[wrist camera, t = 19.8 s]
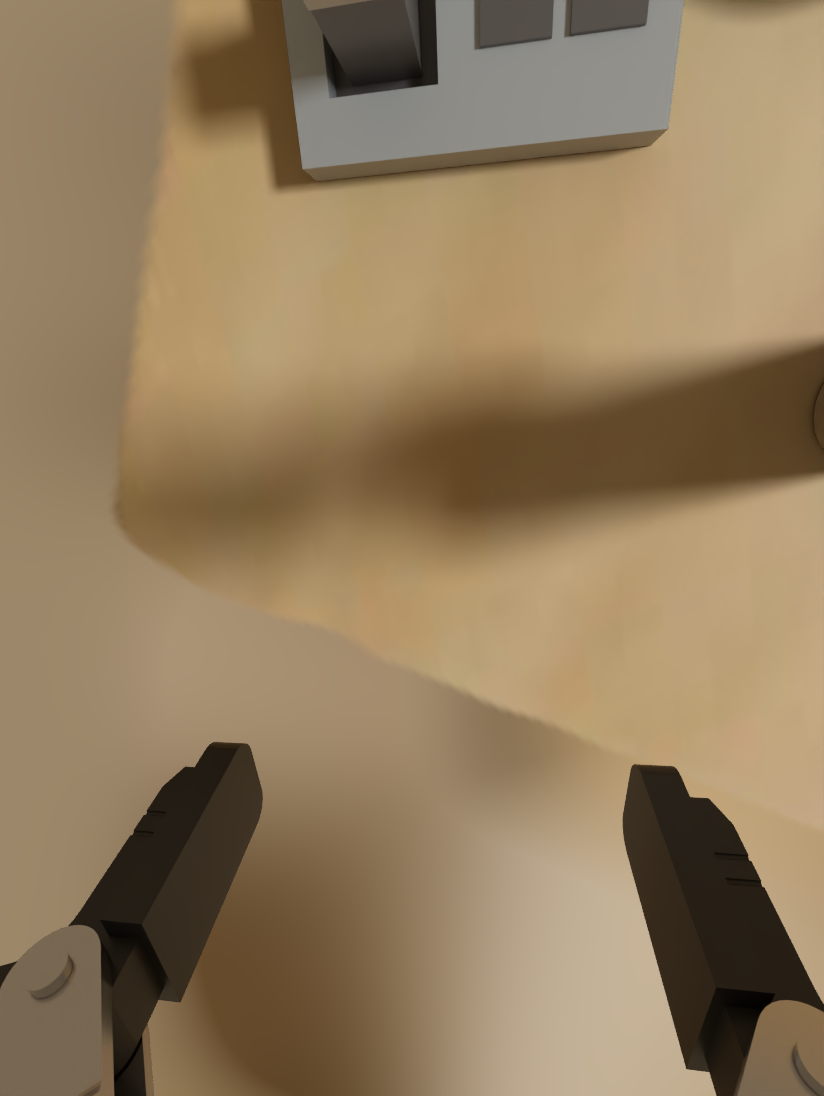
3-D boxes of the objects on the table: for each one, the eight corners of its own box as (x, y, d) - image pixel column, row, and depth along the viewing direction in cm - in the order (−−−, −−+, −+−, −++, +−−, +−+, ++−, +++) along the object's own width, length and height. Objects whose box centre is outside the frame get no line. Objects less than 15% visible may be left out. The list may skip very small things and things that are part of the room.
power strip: (685, -167, 24) (714, -234, 21) (650, 145, 29) (670, 126, 26) (285, -93, 27) (261, -143, 24) (317, 181, 32) (300, 167, 29)
